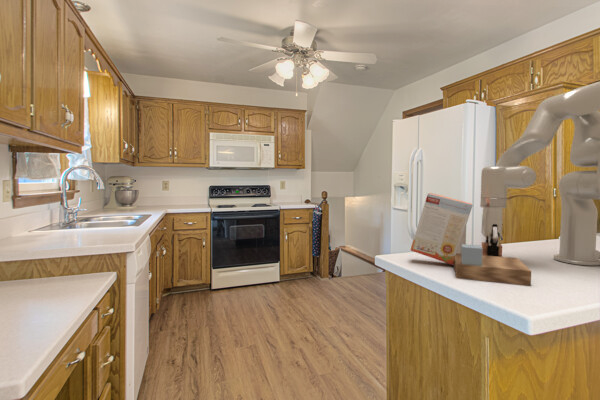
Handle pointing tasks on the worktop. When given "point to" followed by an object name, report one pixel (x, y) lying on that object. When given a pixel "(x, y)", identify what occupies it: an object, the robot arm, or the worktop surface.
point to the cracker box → (441, 227)
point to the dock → (494, 270)
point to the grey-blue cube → (471, 254)
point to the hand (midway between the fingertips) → (491, 255)
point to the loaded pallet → (485, 245)
